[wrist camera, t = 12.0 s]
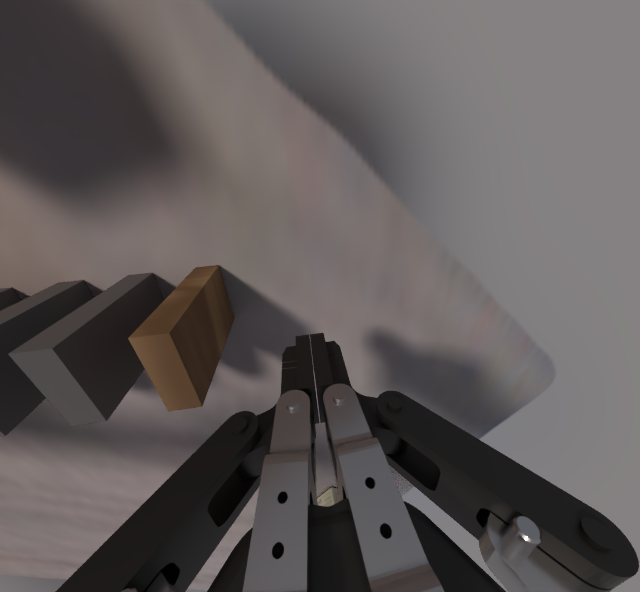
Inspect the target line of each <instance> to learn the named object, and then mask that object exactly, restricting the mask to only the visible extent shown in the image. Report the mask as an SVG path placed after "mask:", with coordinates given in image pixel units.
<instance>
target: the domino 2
mask: <svg viewBox="0 0 640 592" xmlns="http://www.w3.org/2000/svg"><path fill="white" fill-rule="evenodd" d="M163 301H164V298H163V296H162V294H161V291H160V289H159V287H158V284H157V282H156V280H155V277H154V275H153V273H146V274H137V275H128V276H126V277H125V278H123V279H122V280H120V281H119V282H117V283H116V284H114V285H113V286H111V287H110V288H108V289H107V290H105V291H104V292H102V293H100V294H99V295H97V296H96V297H94V298H93V299H91V300H90V301H88V302H87V303H85V304H84V305H82V306H81V307H79V308H78V309H76V310H74V311H73V312H71V313H70V314H68V315H67V316H65V317H64V318H62V319H61V320H59V321H58V322H56V323H55V324H53V325H52V326H50V327H48V328H47V329H45V330H44V331H42V332H41V333H39V334H38V335H36V336H35V337H33V338H32V339H30V340H29V341H27V342H26V343H24V344H22V345H21V346H19V347H18V348H16V349H15V350H13V351H12V352H10V353H9V354H8V355H9V356H10V357H11V358H12V359H13V361H14V362H15V363H16V364H17V365H18V366H19V367H20V369H21V370H22V371H23V372H24V373H25V374H26V375H27V377H28V378H29V379H30V380H31V381H32V382H33V383H34V385H35V386H36V387H37V388H38V389H39V390H40V391H41V393H42V394H43V395H44V396H45V397H46V398H47V399H48V401H49V402H50V403H51V404H52V405H53V406H54V407H55V409H56V410H57V411H58V412H59V413H60V414H61V415H62V417H63V418H64V419H65V420H66V421H67V422H68V424H69V425H70V426H77V425H84V424H90V423H97V422H104V421H107V420H108V418H109V417H110V416H111V414H112V413H113V412H114V410H115V409H116V407H117V406H118V405H119V403H120V402H121V401H122V399H123V398H124V396H125V395H126V394H127V392H128V391H129V390H130V388H131V387H132V385H133V384H134V383H135V381H136V380H137V378H138V377H139V376H140V374H141V373H142V372H143V370H144V369H145V368H144V366H143V365H142V363H141V361H140V359H139V357H138V356H137V354H136V352H135V350H134V348H133V347H132V345H131V343H130V341H129V339H128V338H129V337H130V336H131V335H132V334H133V333H134V331H135V330H136V329H137V328H138V327H139V326H140V325H141V324H142V323H143V322H144V321H145V320H146V319H147V318H148V317H149V316H150V315H151V314H152V313H153V312H154V311H155V310H156V308H157V307H158V306H159V305H160V304H161V303H162V302H163Z"/></svg>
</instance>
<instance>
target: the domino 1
mask: <svg viewBox="0 0 640 592" xmlns="http://www.w3.org/2000/svg"><path fill="white" fill-rule="evenodd" d="M93 298H94V297H93V295H92V294H91V292H90V290H89V288H88V287H87V285H86V283H85V282H84V280H80V281H71V282H61V283H57V284H55V285H53V286H51V287H49V288H47V289H44V290H42V291H40V292H38V293H36V294H34V295H32V296H30V297H28V298H26V299H24V300H22V301H20V302H18V303H16V304H14V305H12V306H9V307H7V308H5V309H3V310H1V311H0V437H2V436H6V435H7V434H8V433H9V432H10V431H11V430H12V429H13V428H14V427H16V426H17V425H18V424H19V423H20V422H21V421H22V420H23V419H24V418H25V417H26V416H27V415H28V414H29V413H30V412H32V411H33V410H34V409H35V408H36V407H37V406H38V405H39V404H40V403H41V402H42V401H43V400H44V399H45V398H46V397H45V396H44V395H43V394H42V393H41V391H40V390H39V389H38V388H37V387H36V386H35V385H34V383H33V382H32V381H31V380H30V379H29V378H28V377H27V375H26V374H25V373H24V372H23V371H22V370H21V369H20V367H19V366H18V365H17V364H16V363H15V362H14V361H13V359H12V358H11V357H10V356H9V355H8V354H9V353H10V352H12V351H13V350H15V349H16V348H18V347H19V346H21V345H22V344H24V343H26V342H27V341H29V340H30V339H32V338H33V337H35V336H36V335H38V334H39V333H41V332H42V331H44V330H45V329H47V328H48V327H50V326H52V325H53V324H55V323H56V322H58V321H59V320H61V319H62V318H64V317H65V316H67V315H68V314H70V313H71V312H73V311H74V310H76V309H78V308H79V307H81V306H82V305H84V304H85V303H87V302H88V301H90V300H91V299H93Z"/></svg>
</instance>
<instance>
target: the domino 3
mask: <svg viewBox="0 0 640 592" xmlns="http://www.w3.org/2000/svg"><path fill="white" fill-rule="evenodd" d="M233 321H234V316H233V313H232V309H231V306H230V302H229V299H228V295H227V292H226V288H225V285H224V281H223V277H222V274H221V270H220V267H219V265H216V266H207V267H197V268H195V269H194V270H193V271H192V272H191V273H190V274H189V275H188V276H187V277H186V278H185V279H184V280H183V281H182V282H181V283H180V284H179V285H178V286H177V288H176V289H175V290H174V291H173V292H172V293H171V294H170V295H169V296H168V297H167V298H166V299H165V300H164V301H163V302H162V303H161V304H160V305H159V306H158V307H157V308H156V310H155V311H154V312H153V313H152V314H151V315H150V316H149V317H148V318H147V319H146V320H145V321H144V322H143V323H142V324H141V325H140V326H139V327H138V328H137V329H136V330H135V331H134V333H133V334H132V335H131V336H130V337H129V338H128V339H129V341H130V343H131V345H132V347H133V348H134V350H135V352H136V354H137V356H138V357H139V359H140V361H141V363H142V365H143V366H144V368H145V370H146V372H147V374H148V375H149V377H150V379H151V381H152V383H153V384H154V386H155V388H156V390H157V392H158V393H159V395H160V397H161V399H162V401H163V402H164V404H165V406H166V408H167V410H168V411H175V410H182V409H188V408H195V407H202V406H203V403H204V400H205V397H206V395H207V392H208V389H209V386H210V384H211V381H212V378H213V375H214V373H215V370H216V367H217V364H218V362H219V359H220V356H221V353H222V351H223V348H224V345H225V342H226V340H227V337H228V334H229V331H230V329H231V326H232V323H233Z"/></svg>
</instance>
